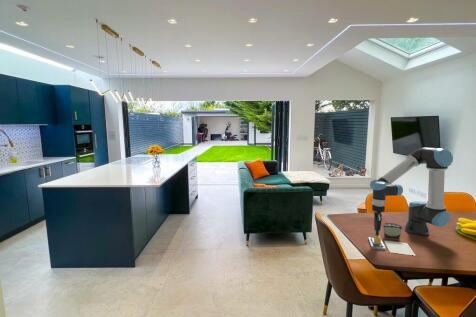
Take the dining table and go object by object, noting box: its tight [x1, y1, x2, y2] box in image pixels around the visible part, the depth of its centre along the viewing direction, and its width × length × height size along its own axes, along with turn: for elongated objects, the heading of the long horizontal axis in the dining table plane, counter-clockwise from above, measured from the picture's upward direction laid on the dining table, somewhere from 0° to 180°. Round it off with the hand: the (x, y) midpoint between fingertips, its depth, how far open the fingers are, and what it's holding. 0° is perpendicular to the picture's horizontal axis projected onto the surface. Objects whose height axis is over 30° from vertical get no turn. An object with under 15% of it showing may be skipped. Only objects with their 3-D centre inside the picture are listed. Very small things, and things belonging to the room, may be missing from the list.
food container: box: [382, 222, 403, 241], centre depth 183 cm, size 12×6×10 cm, turn 71°
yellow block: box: [373, 234, 382, 245], centre depth 169 cm, size 3×4×5 cm
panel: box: [367, 236, 387, 251], centre depth 172 cm, size 8×15×2 cm, turn 161°
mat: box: [383, 240, 417, 257], centre depth 167 cm, size 14×18×1 cm
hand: (376, 238), depth 172 cm, fingers closed
